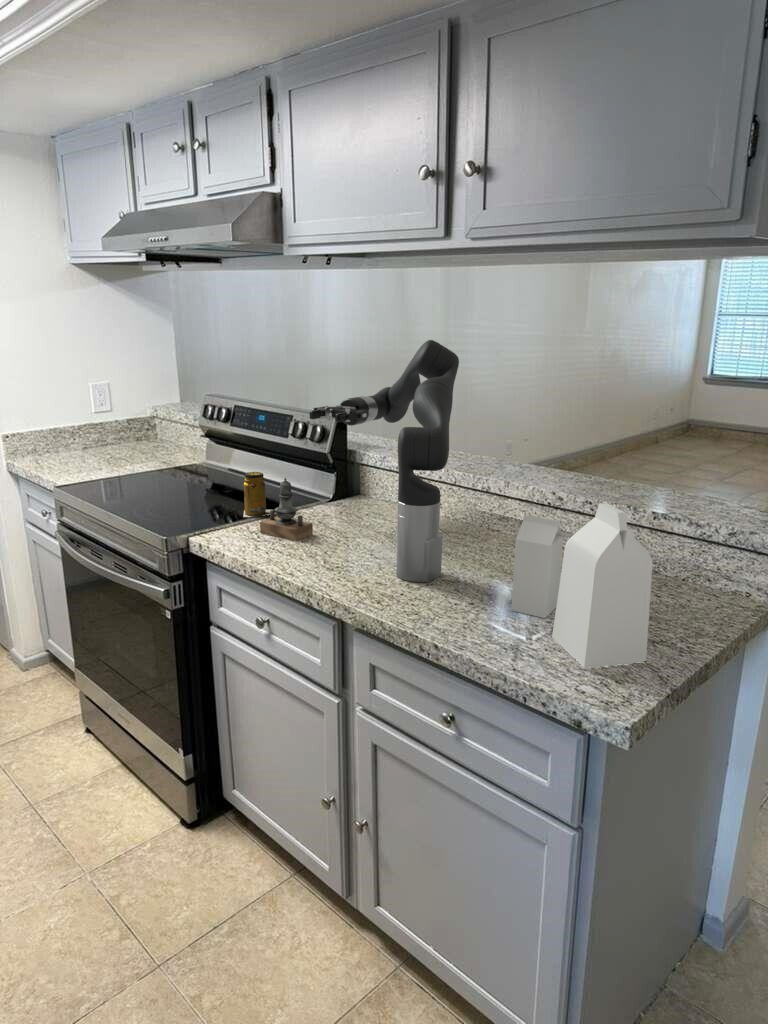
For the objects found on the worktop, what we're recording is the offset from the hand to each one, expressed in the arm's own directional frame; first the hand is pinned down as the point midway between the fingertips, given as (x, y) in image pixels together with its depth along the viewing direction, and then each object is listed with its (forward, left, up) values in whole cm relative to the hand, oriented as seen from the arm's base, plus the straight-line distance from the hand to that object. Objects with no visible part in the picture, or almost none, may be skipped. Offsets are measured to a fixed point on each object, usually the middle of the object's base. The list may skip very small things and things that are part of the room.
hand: (323, 416), depth 189 cm
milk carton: (-69, +21, -30) cm, 78 cm away
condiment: (+23, +1, -30) cm, 38 cm away
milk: (-85, +32, -30) cm, 96 cm away
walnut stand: (+4, +11, -30) cm, 32 cm away
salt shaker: (+4, +11, -27) cm, 30 cm away
